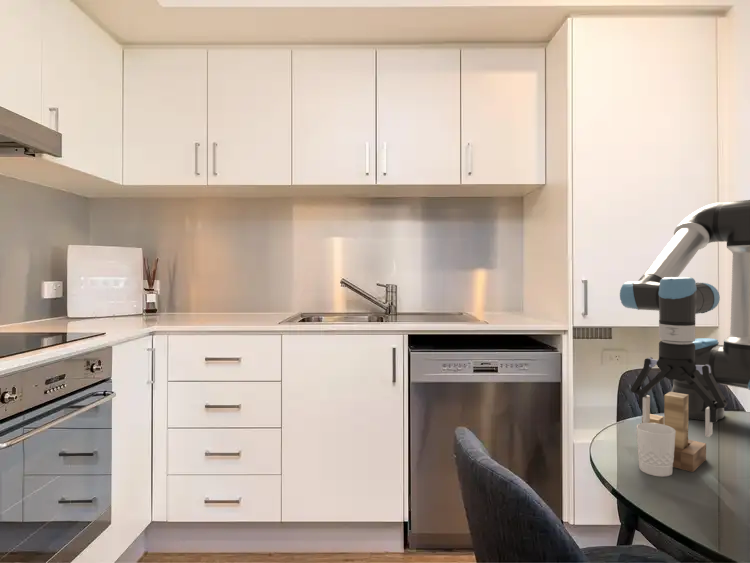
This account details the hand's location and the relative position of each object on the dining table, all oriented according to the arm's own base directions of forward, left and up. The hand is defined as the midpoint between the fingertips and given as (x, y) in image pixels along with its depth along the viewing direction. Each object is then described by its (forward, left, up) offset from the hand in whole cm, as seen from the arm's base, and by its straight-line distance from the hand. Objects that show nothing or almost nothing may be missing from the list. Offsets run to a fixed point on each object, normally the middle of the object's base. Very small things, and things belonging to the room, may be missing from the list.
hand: (676, 428), depth 122 cm
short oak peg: (-8, -8, -8) cm, 14 cm away
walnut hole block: (0, 0, -8) cm, 8 cm away
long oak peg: (0, 0, -8) cm, 8 cm away
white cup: (+10, -1, -8) cm, 13 cm away
